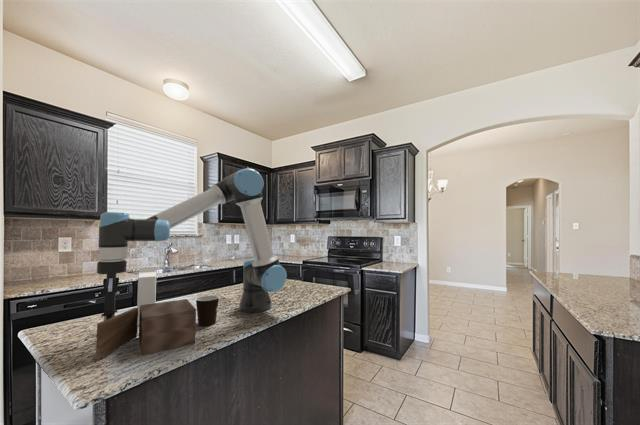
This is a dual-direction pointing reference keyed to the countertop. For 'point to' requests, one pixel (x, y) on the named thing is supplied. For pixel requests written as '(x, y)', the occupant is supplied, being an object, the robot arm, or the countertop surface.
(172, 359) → the countertop surface
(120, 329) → the door
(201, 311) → the coffee mug
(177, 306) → the cabinet
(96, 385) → the countertop surface
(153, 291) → the milk
